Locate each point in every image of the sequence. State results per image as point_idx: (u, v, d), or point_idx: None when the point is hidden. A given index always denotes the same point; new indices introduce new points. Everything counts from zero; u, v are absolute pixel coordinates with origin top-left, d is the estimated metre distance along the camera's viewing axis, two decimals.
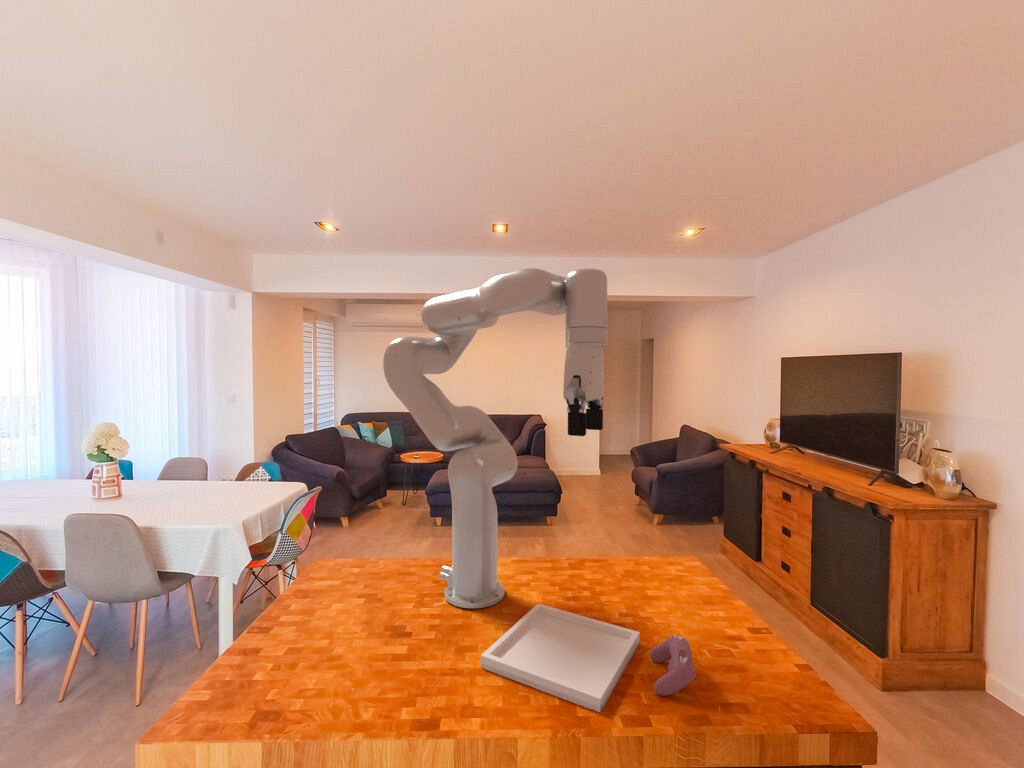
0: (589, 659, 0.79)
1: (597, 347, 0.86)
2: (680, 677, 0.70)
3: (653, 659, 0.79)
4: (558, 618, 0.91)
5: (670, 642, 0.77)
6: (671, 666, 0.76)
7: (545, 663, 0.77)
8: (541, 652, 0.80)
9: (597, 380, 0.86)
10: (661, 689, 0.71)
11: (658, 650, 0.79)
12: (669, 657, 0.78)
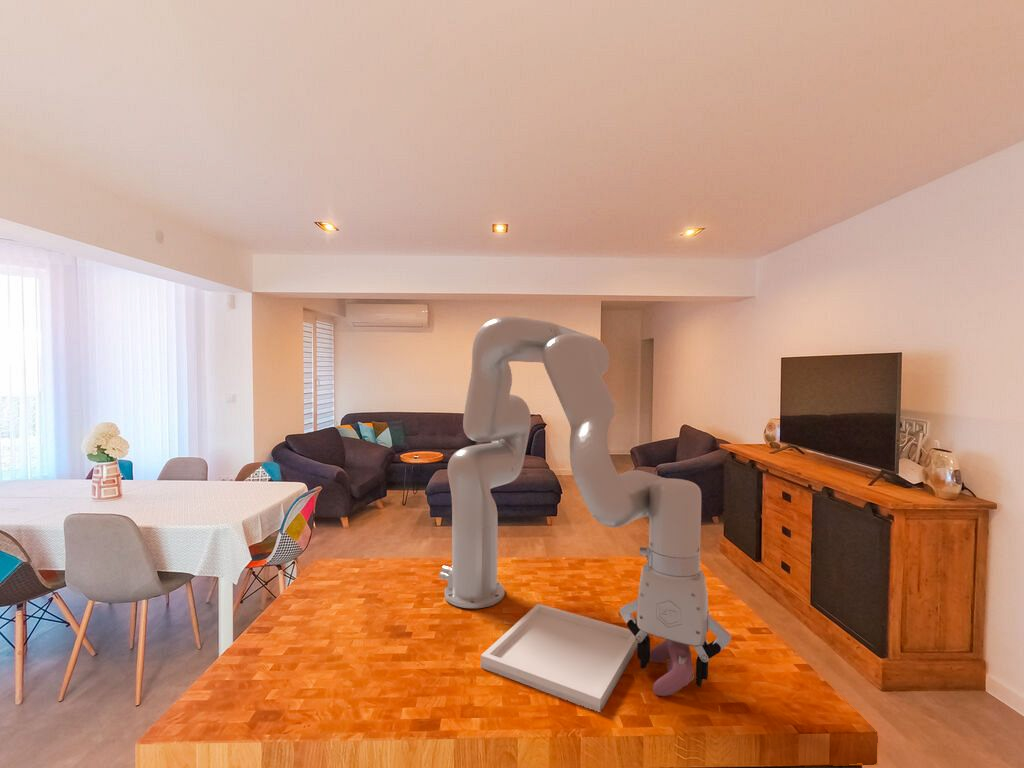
0: (589, 659, 0.79)
1: None
2: (679, 677, 0.70)
3: (652, 659, 0.79)
4: (558, 618, 0.91)
5: (669, 642, 0.77)
6: (670, 666, 0.76)
7: (545, 663, 0.77)
8: (541, 652, 0.80)
9: None
10: (660, 689, 0.71)
11: (657, 650, 0.79)
12: (668, 657, 0.78)
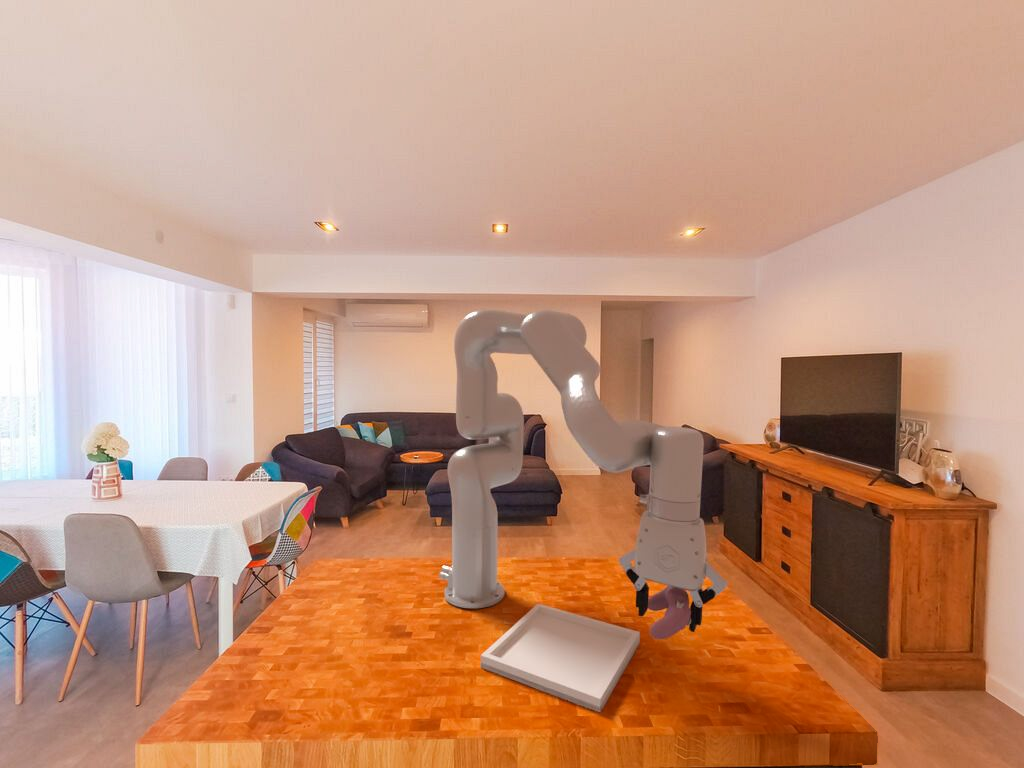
0: (589, 659, 0.79)
1: None
2: (676, 620, 0.70)
3: (650, 607, 0.79)
4: (558, 618, 0.91)
5: (668, 590, 0.77)
6: (668, 613, 0.76)
7: (545, 663, 0.77)
8: (541, 652, 0.80)
9: None
10: (656, 632, 0.71)
11: (655, 599, 0.79)
12: (666, 606, 0.78)
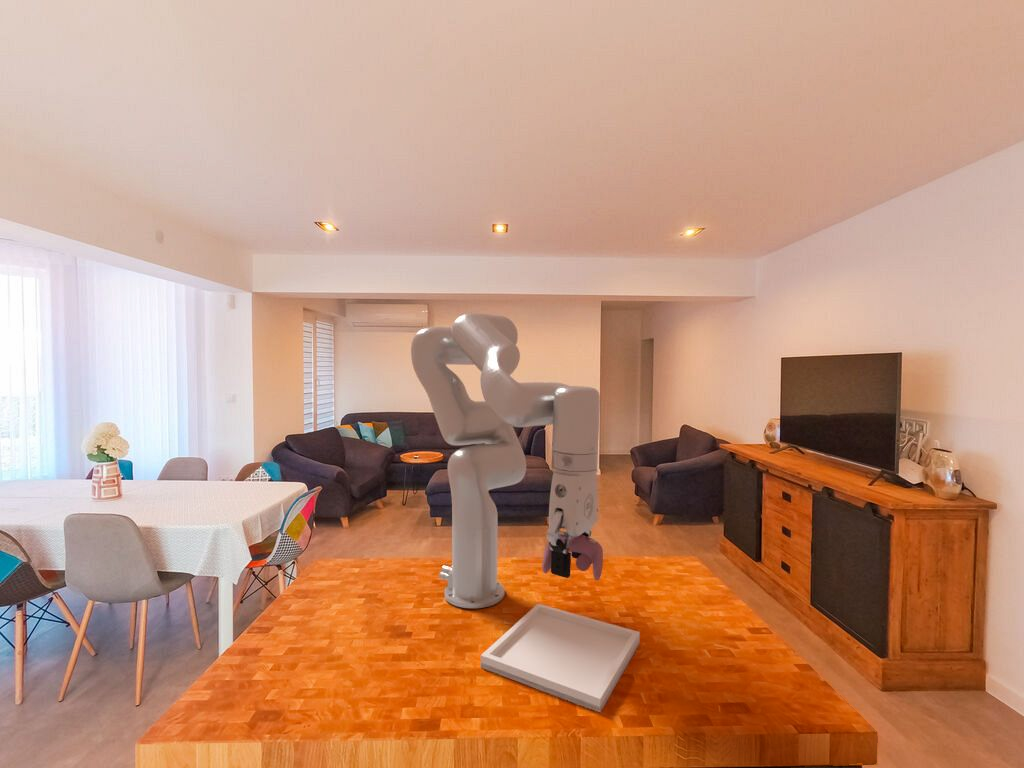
0: (589, 659, 0.79)
1: None
2: (602, 553, 0.80)
3: (547, 570, 0.79)
4: (558, 618, 0.91)
5: None
6: None
7: (545, 663, 0.77)
8: (541, 652, 0.80)
9: None
10: (600, 573, 0.77)
11: (550, 558, 0.80)
12: None
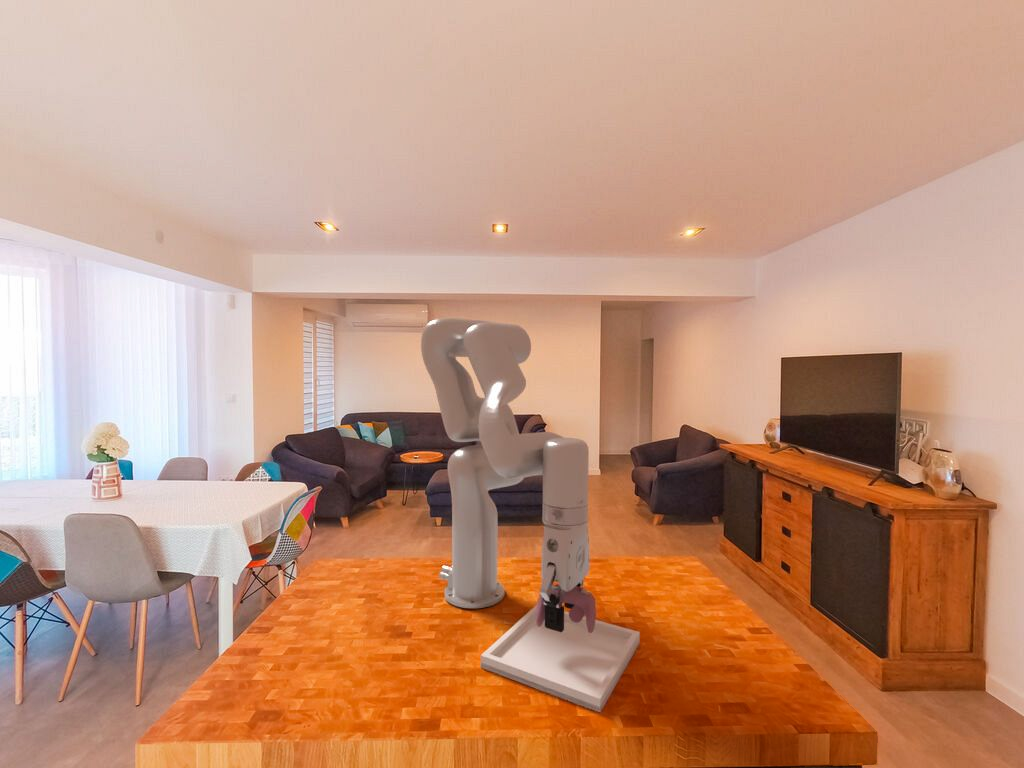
0: (589, 659, 0.79)
1: None
2: (594, 604, 0.80)
3: (541, 624, 0.79)
4: None
5: (554, 593, 0.81)
6: None
7: (545, 663, 0.77)
8: (541, 652, 0.80)
9: None
10: (594, 625, 0.78)
11: (543, 611, 0.80)
12: None
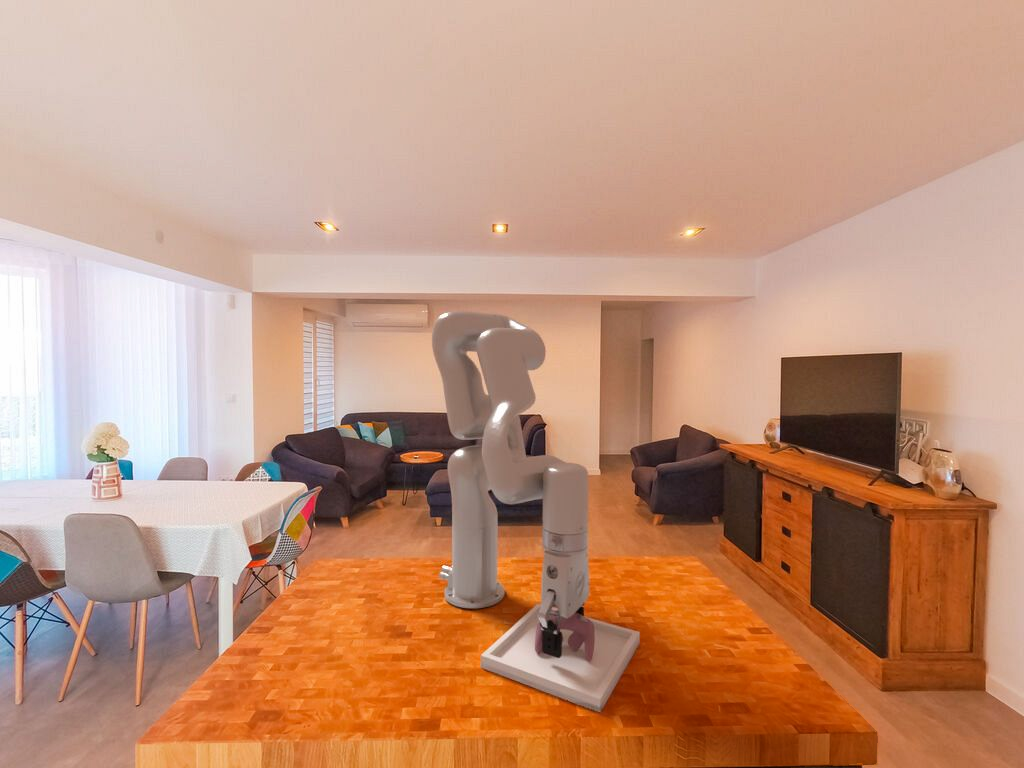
0: None
1: None
2: (593, 631, 0.80)
3: (540, 650, 0.80)
4: None
5: (553, 620, 0.81)
6: None
7: (545, 663, 0.77)
8: (541, 652, 0.80)
9: None
10: (592, 653, 0.78)
11: None
12: None
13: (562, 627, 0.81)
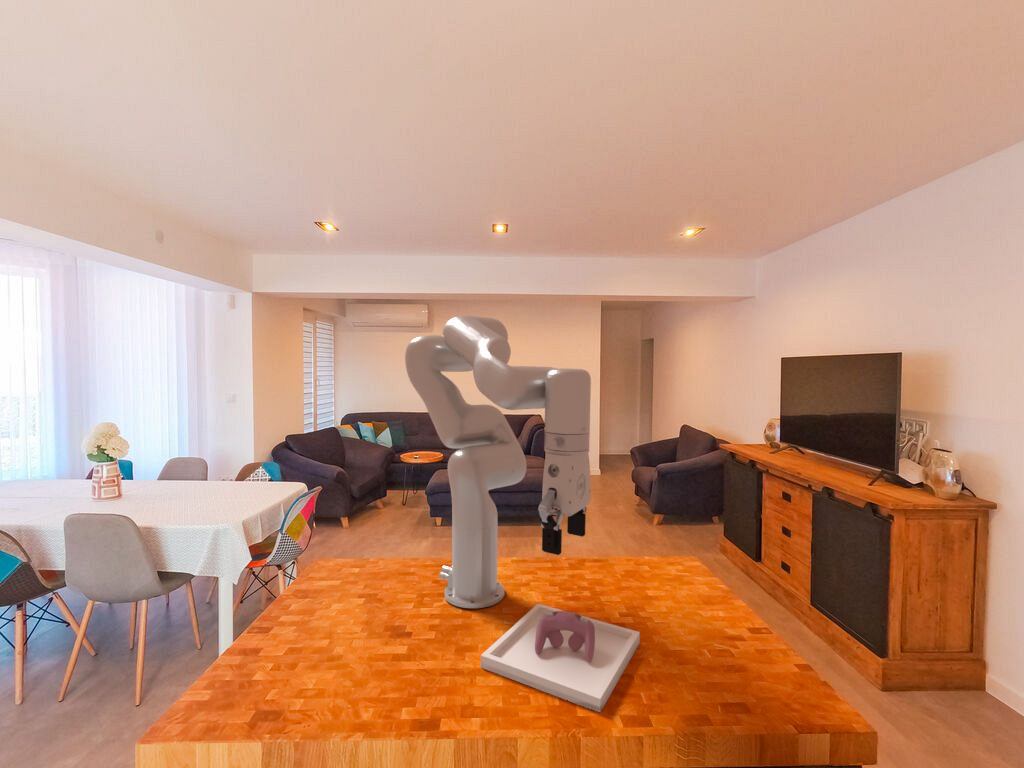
0: None
1: None
2: (594, 632, 0.80)
3: (540, 651, 0.79)
4: None
5: (553, 621, 0.81)
6: (559, 641, 0.81)
7: (545, 663, 0.77)
8: (541, 652, 0.80)
9: None
10: (592, 654, 0.78)
11: (542, 639, 0.80)
12: (545, 638, 0.82)
13: (562, 628, 0.81)
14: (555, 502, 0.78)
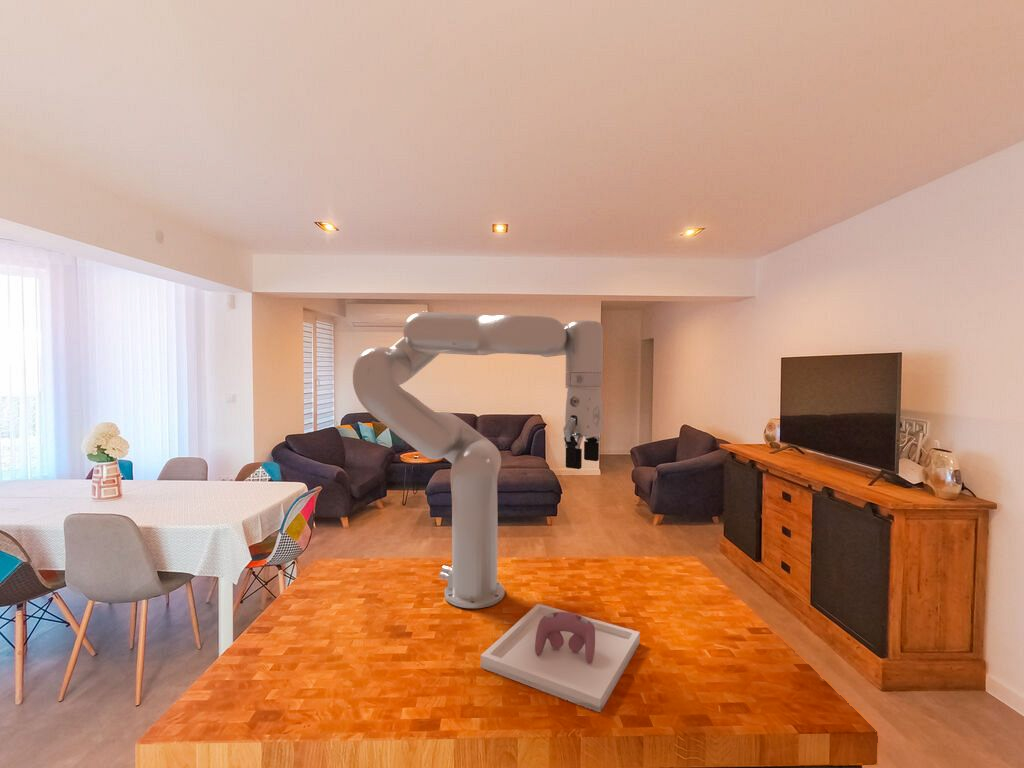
0: None
1: None
2: (594, 633, 0.80)
3: (540, 652, 0.79)
4: None
5: (553, 622, 0.81)
6: (559, 642, 0.81)
7: (545, 663, 0.77)
8: None
9: None
10: (593, 655, 0.77)
11: (542, 640, 0.80)
12: None
13: (562, 629, 0.80)
14: (575, 428, 0.97)
